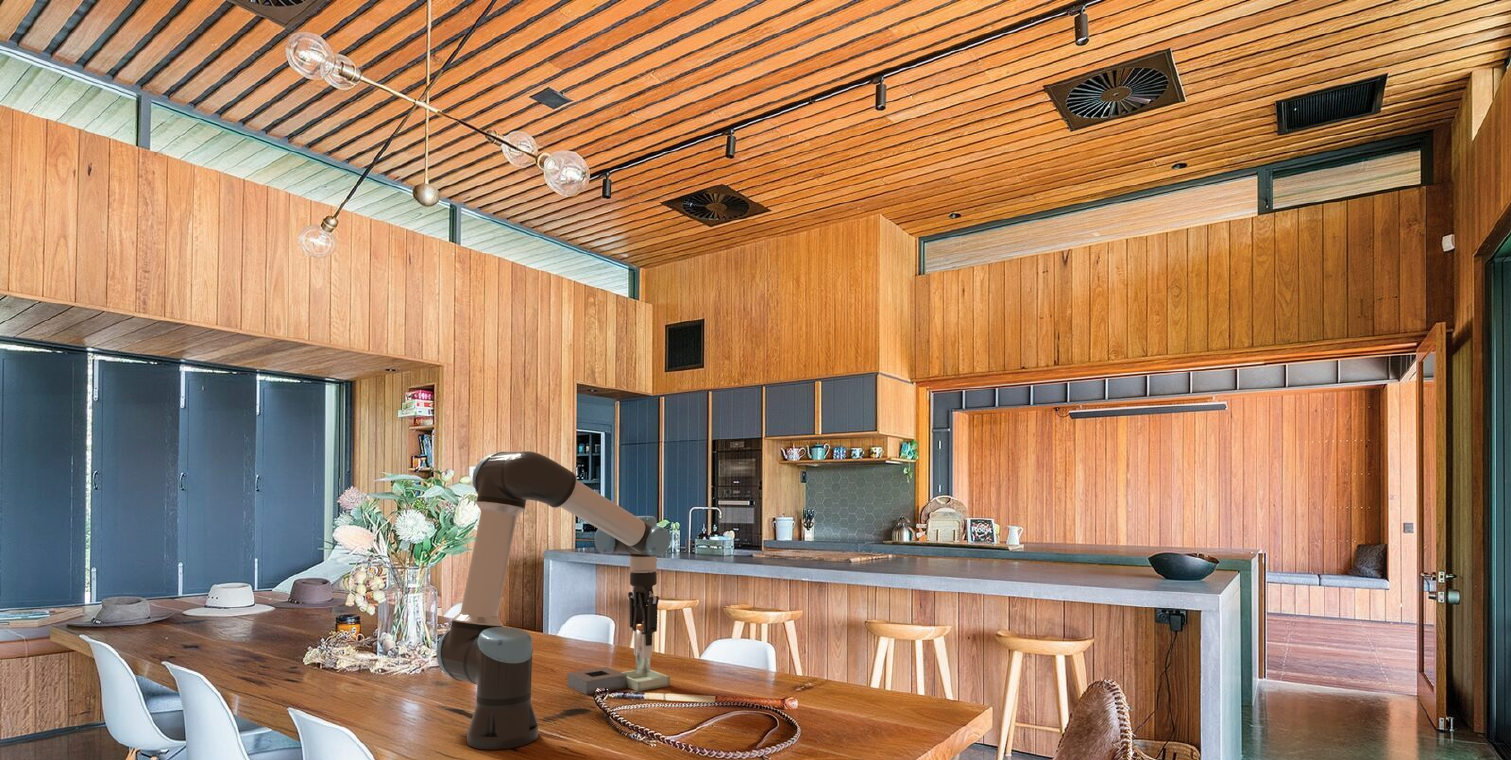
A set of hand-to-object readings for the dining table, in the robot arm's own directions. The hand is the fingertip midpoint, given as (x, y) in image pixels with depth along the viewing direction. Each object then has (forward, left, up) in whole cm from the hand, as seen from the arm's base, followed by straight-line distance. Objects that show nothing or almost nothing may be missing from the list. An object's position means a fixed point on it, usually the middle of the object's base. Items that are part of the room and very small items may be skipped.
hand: (642, 655), depth 237 cm
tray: (0, 0, -8) cm, 8 cm away
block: (-12, +5, -8) cm, 15 cm away
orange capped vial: (0, 0, -4) cm, 4 cm away
